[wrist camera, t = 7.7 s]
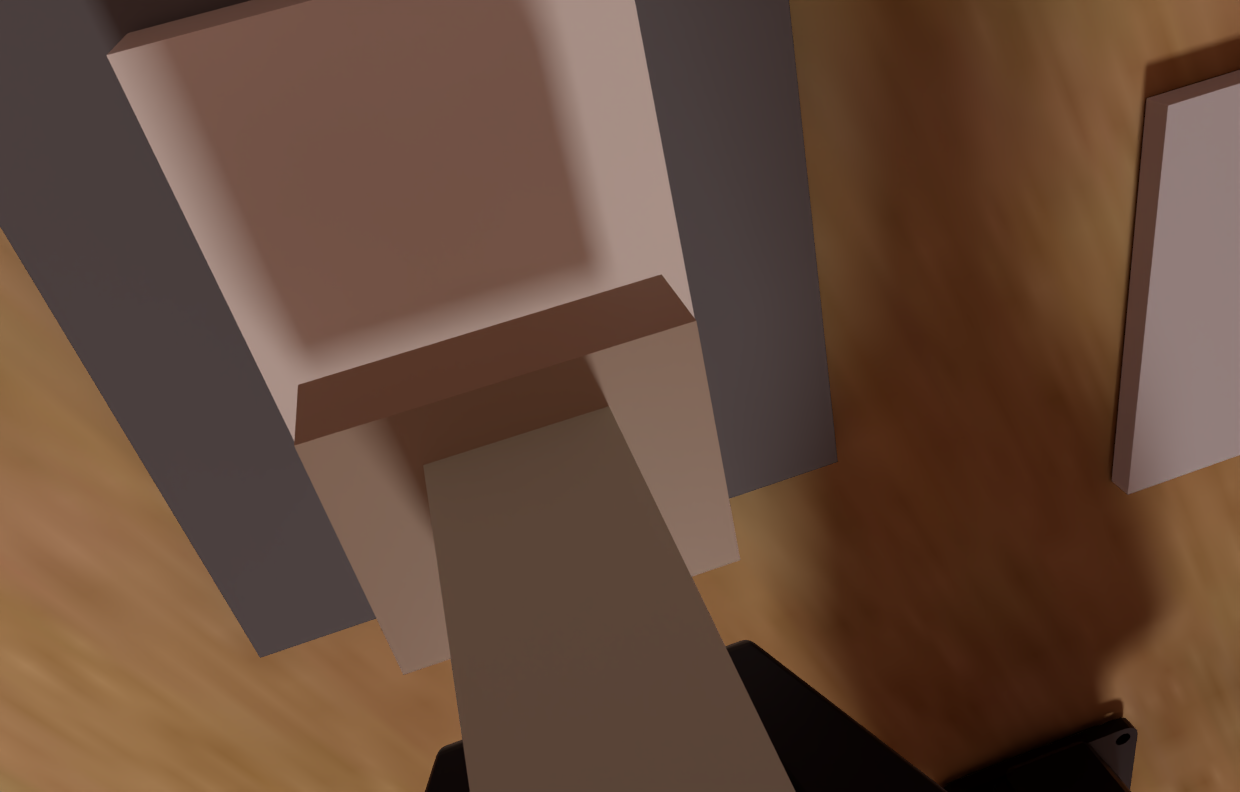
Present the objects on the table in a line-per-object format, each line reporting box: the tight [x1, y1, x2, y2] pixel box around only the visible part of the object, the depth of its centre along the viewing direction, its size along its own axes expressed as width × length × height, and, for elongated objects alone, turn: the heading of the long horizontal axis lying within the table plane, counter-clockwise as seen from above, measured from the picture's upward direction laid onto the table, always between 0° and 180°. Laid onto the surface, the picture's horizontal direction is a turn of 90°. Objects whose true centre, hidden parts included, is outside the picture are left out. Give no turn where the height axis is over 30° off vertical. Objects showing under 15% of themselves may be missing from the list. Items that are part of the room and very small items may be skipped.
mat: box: [0, 0, 838, 658], centre depth 18 cm, size 13×13×1 cm
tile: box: [106, 0, 695, 440], centre depth 16 cm, size 2×7×8 cm
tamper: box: [294, 274, 795, 792], centre depth 10 cm, size 4×5×10 cm
